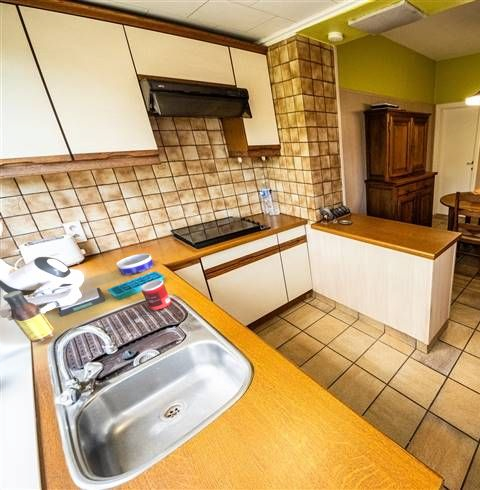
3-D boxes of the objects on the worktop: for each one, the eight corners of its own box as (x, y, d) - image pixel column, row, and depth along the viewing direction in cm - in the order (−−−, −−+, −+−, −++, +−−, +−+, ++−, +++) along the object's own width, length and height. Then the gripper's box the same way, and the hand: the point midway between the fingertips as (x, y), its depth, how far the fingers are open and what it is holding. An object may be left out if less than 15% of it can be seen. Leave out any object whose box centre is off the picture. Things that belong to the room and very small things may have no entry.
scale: (61, 316, 112) (57, 311, 111) (60, 305, 121) (57, 299, 119) (105, 301, 122) (102, 295, 121) (101, 291, 130) (98, 286, 129)
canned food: (168, 298, 121) (159, 277, 117) (174, 304, 117) (165, 283, 112) (148, 306, 116) (138, 285, 112) (153, 313, 111) (143, 291, 107)
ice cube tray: (109, 294, 127) (106, 289, 126) (157, 275, 142) (155, 270, 141) (118, 301, 121) (115, 296, 120) (167, 281, 136) (164, 276, 135)
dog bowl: (159, 266, 153) (155, 256, 151) (126, 278, 141) (121, 268, 139) (147, 260, 161) (143, 251, 158) (116, 271, 149) (111, 262, 147)
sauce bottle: (37, 335, 100) (6, 290, 92) (59, 329, 102) (31, 286, 94) (26, 346, 94) (-8, 300, 86) (50, 340, 97) (18, 295, 89)
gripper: (11, 294, 100) (-22, 316, 88) (80, 282, 107) (58, 300, 95) (20, 308, 103) (-10, 330, 91) (87, 295, 109) (66, 314, 98)
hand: (25, 315), depth 93 cm, fingers closed on sauce bottle, 6 cm apart
